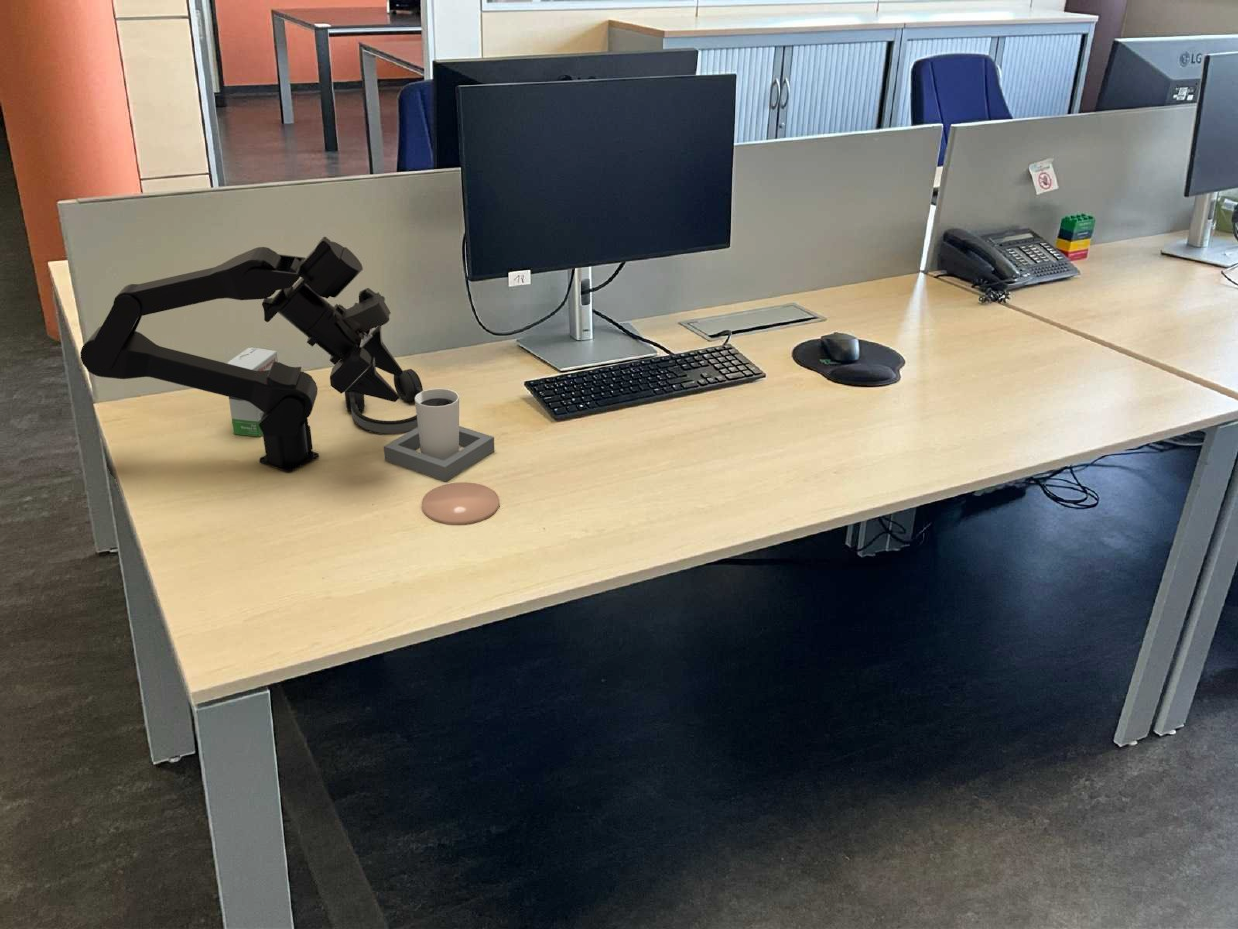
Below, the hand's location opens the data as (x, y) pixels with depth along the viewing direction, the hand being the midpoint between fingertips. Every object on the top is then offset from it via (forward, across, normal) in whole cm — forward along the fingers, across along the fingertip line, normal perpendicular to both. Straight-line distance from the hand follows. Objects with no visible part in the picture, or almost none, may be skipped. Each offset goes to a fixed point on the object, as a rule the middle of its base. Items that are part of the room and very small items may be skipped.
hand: (399, 386), depth 163 cm
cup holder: (+12, 0, +5) cm, 13 cm away
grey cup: (+12, 0, +5) cm, 13 cm away
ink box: (-8, +13, +26) cm, 30 cm away
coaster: (+15, -15, +2) cm, 21 cm away
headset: (+6, +17, +11) cm, 21 cm away
